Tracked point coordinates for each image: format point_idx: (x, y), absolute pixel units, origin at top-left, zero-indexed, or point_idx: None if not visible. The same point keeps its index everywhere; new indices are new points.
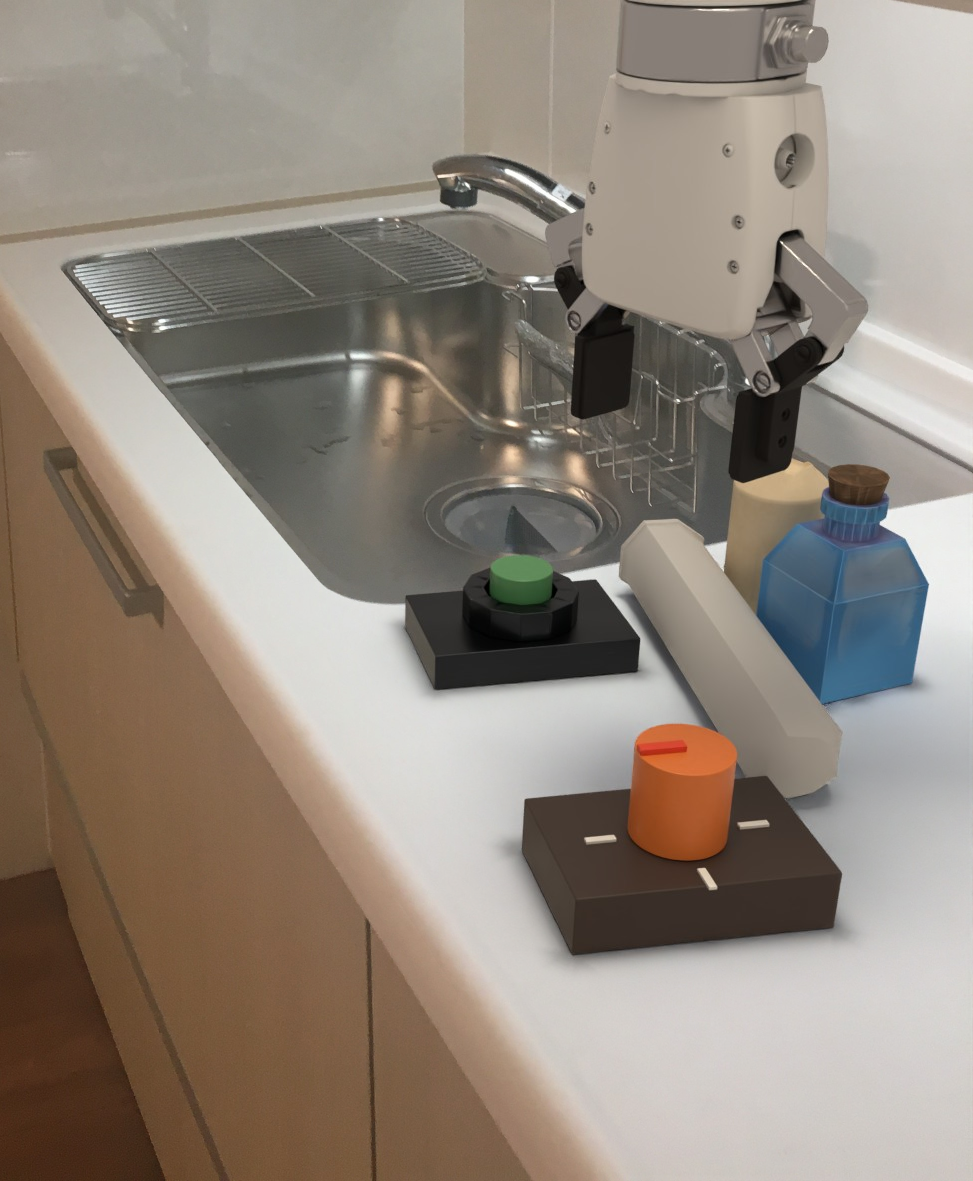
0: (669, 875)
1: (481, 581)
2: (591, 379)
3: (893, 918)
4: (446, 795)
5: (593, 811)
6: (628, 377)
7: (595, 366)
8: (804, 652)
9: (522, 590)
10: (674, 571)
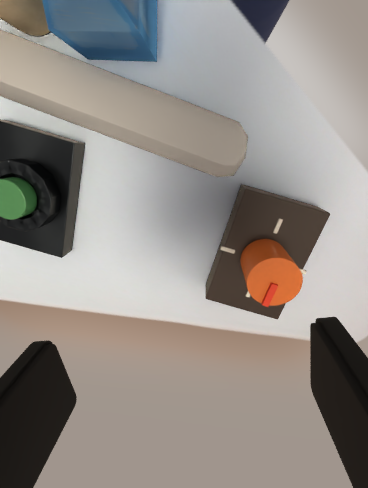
0: None
1: None
2: (47, 442)
3: (328, 177)
4: (156, 289)
5: (229, 280)
6: (30, 379)
7: (35, 460)
8: (129, 51)
9: (29, 208)
10: (24, 91)
